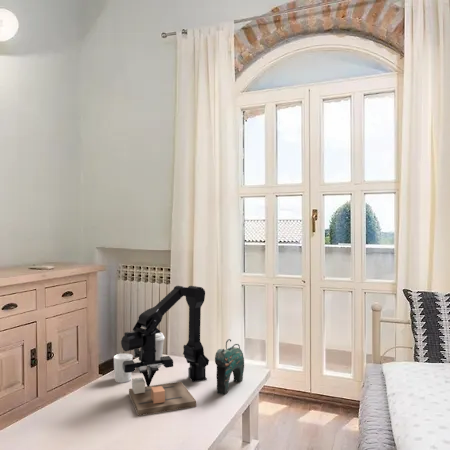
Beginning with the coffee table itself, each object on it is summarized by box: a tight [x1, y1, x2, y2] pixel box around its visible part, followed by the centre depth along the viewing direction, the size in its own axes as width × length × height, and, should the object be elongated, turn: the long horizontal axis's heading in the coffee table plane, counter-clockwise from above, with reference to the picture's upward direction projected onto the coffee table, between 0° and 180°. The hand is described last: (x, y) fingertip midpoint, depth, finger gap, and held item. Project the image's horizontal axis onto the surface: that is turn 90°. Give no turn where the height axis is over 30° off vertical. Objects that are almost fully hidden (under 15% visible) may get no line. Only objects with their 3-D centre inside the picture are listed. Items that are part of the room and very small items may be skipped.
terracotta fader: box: [151, 386, 165, 404], centre depth 152 cm, size 4×5×4 cm
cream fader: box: [131, 376, 146, 394], centre depth 160 cm, size 4×5×4 cm
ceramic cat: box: [214, 338, 245, 396], centre depth 170 cm, size 20×6×20 cm, turn 152°
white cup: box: [113, 353, 134, 384], centre depth 177 cm, size 8×8×10 cm
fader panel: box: [128, 381, 197, 417], centre depth 157 cm, size 21×20×2 cm
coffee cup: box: [156, 332, 166, 369], centre depth 194 cm, size 10×10×15 cm
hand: (148, 386), depth 161 cm, fingers closed
